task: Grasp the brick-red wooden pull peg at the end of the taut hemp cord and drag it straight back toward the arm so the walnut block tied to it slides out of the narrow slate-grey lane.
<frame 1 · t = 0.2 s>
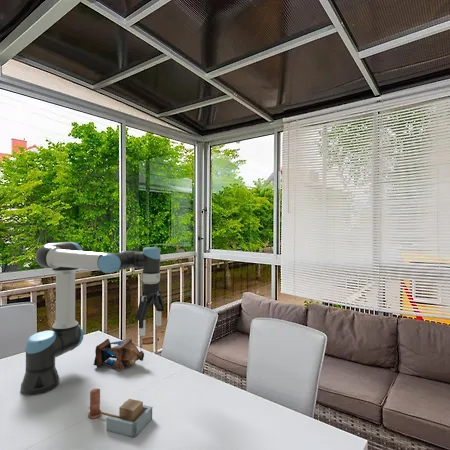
hand: (150, 330, 139), 28 cm above the table, fingers open, 13 cm apart
slate lane: (129, 424, 117), on the table
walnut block: (113, 407, 119), point 5 cm above the table, slide at 0.0 cm
lantern: (120, 366, 164), on the table
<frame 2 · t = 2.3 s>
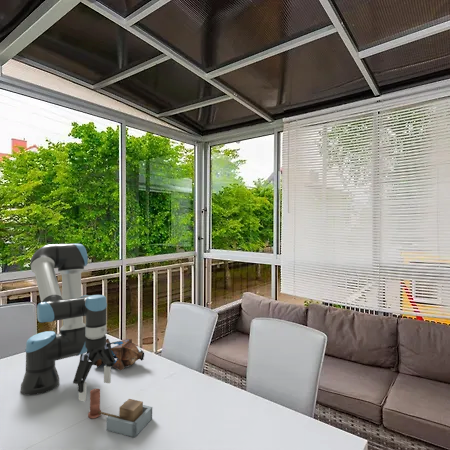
hand: (95, 390, 121), 10 cm above the table, fingers open, 13 cm apart
nothing on the table moved.
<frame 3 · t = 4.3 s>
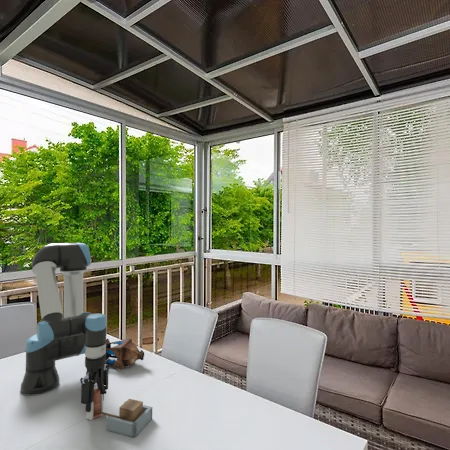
hand: (94, 414, 122), 0 cm above the table, fingers closed on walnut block, 5 cm apart
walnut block: (113, 407, 119), point 5 cm above the table, slide at 0.0 cm, touching gripper
everything else where it was.
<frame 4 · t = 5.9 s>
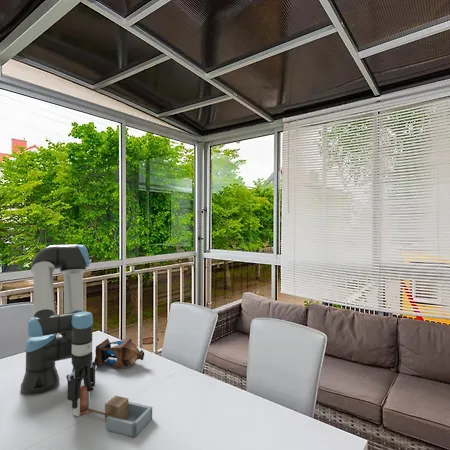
hand: (81, 411, 124), 0 cm above the table, fingers closed on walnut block, 5 cm apart
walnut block: (99, 403, 121), point 5 cm above the table, slide at 6.4 cm, touching gripper
everything else where it was.
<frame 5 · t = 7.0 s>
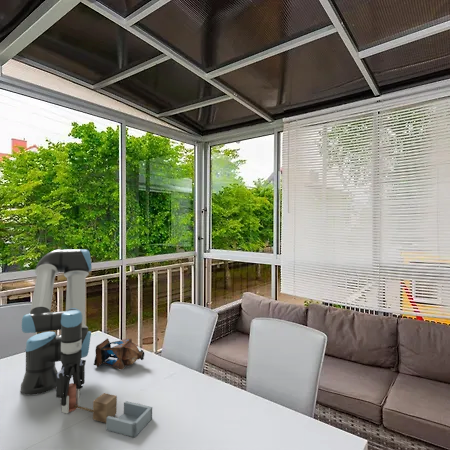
hand: (70, 408, 126), 0 cm above the table, fingers closed on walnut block, 5 cm apart
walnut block: (88, 401, 123), point 5 cm above the table, slide at 11.8 cm, touching gripper
everything else where it was.
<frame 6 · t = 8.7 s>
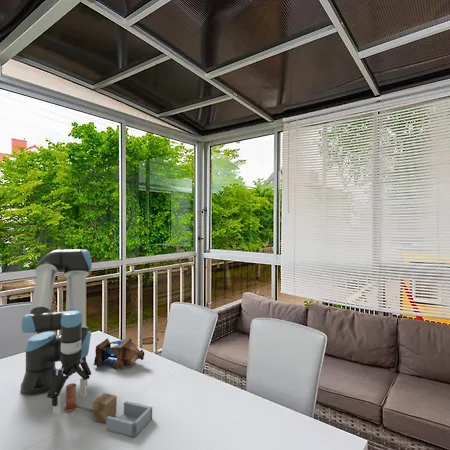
hand: (70, 403, 126), 2 cm above the table, fingers open, 13 cm apart
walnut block: (88, 401, 123), point 5 cm above the table, slide at 11.9 cm
everything else where it was.
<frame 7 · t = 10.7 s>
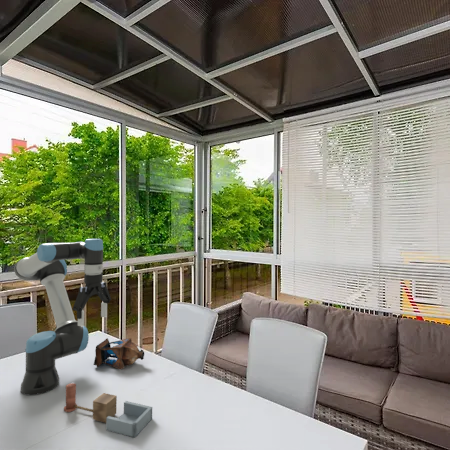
hand: (92, 321, 139), 31 cm above the table, fingers open, 13 cm apart
nothing on the table moved.
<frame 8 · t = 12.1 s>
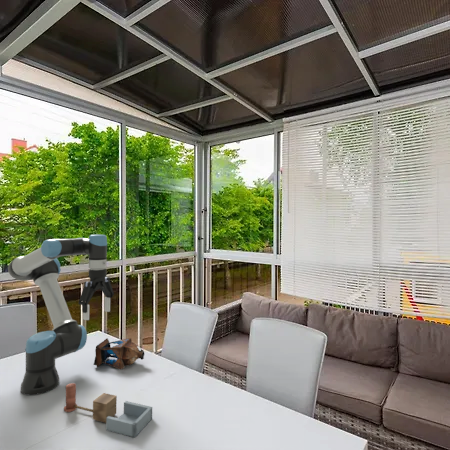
hand: (97, 315, 142), 33 cm above the table, fingers open, 13 cm apart
at the end: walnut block slide at 11.9 cm; the gripper is holding nothing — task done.
